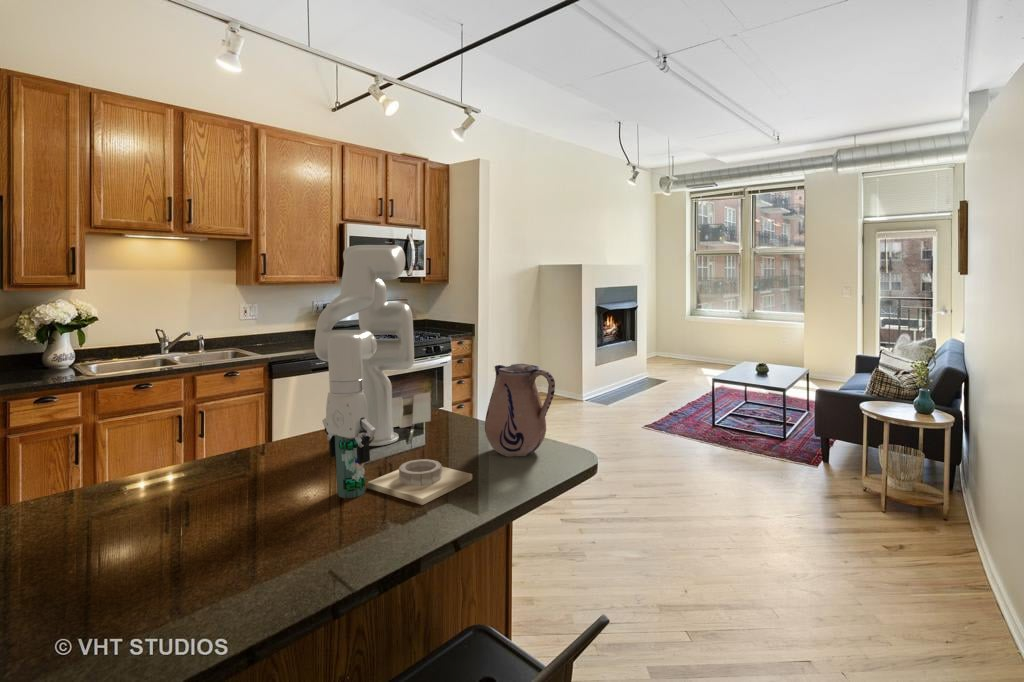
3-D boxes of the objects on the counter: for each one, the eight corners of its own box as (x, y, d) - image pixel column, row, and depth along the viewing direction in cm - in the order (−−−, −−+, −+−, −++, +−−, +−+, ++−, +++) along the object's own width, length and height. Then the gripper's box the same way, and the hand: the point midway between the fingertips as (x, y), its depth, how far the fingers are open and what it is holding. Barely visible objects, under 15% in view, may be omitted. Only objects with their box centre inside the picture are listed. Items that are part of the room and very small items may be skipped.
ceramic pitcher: (499, 440, 171) (498, 360, 168) (565, 448, 163) (565, 364, 160) (474, 458, 155) (473, 369, 152) (546, 467, 147) (546, 374, 144)
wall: (437, 434, 192) (435, 399, 202) (431, 420, 185) (430, 385, 195) (390, 442, 192) (390, 406, 202) (383, 429, 185) (384, 393, 195)
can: (351, 500, 127) (348, 436, 125) (332, 494, 130) (329, 432, 128) (370, 490, 132) (367, 429, 131) (352, 486, 135) (349, 426, 134)
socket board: (367, 488, 134) (366, 470, 133) (419, 466, 149) (419, 450, 148) (422, 505, 124) (422, 485, 123) (472, 479, 139) (472, 462, 138)
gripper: (309, 385, 130) (312, 457, 131) (359, 393, 120) (362, 470, 122) (335, 381, 136) (338, 449, 138) (384, 387, 126) (387, 460, 128)
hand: (349, 458), depth 130 cm, fingers open, 9 cm apart
